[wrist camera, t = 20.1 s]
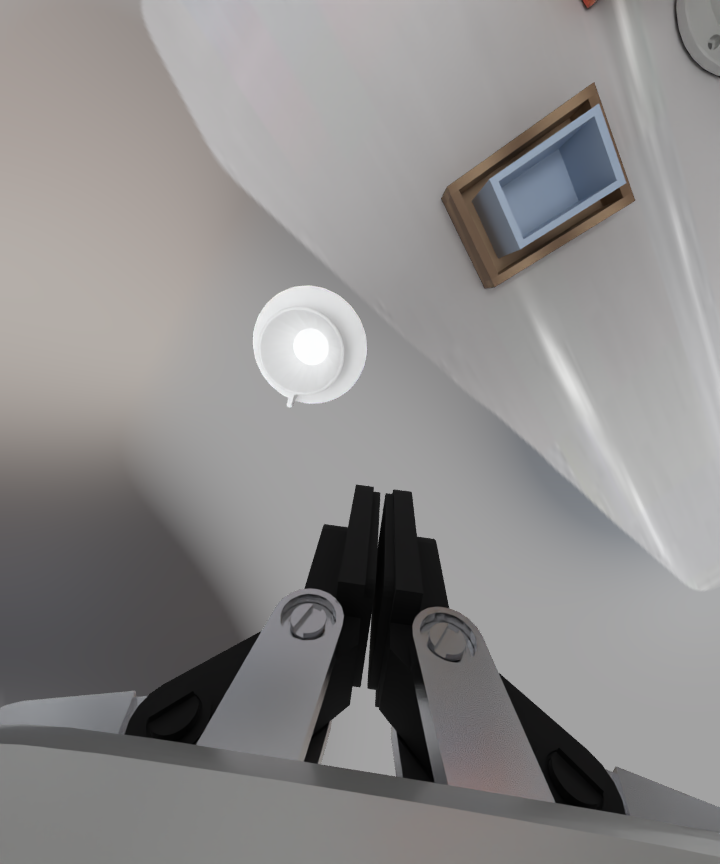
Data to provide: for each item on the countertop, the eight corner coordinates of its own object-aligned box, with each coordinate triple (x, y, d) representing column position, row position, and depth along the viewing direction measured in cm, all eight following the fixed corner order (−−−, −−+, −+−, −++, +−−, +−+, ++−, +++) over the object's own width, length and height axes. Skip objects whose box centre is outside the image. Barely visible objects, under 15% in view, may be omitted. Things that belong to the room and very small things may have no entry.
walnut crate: (571, 106, 29) (594, 82, 26) (609, 211, 32) (635, 200, 28) (441, 198, 32) (447, 186, 29) (484, 288, 35) (494, 286, 31)
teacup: (257, 394, 40) (238, 406, 35) (257, 279, 36) (236, 275, 31) (361, 406, 40) (357, 421, 35) (374, 292, 36) (372, 290, 31)
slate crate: (559, 141, 30) (599, 103, 24) (583, 204, 31) (626, 182, 26) (471, 201, 32) (489, 179, 26) (498, 258, 33) (520, 249, 28)
